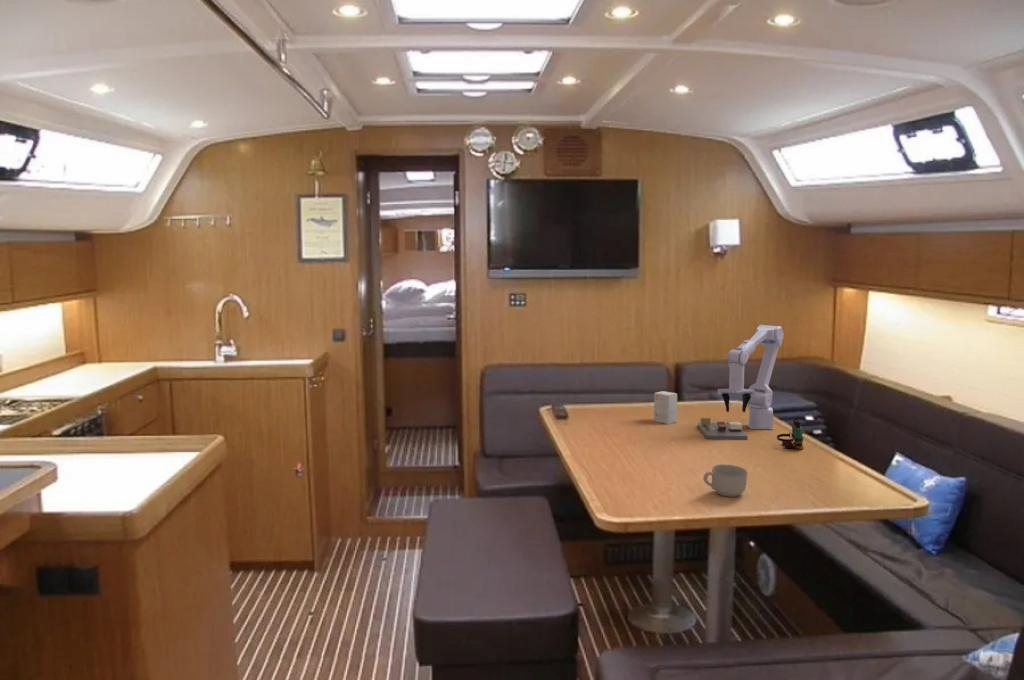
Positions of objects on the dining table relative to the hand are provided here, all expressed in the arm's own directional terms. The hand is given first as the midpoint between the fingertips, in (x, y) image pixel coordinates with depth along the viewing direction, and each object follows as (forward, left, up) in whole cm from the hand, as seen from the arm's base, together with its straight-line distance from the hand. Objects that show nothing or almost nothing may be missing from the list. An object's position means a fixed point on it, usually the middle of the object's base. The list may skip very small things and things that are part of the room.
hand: (735, 411), depth 307 cm
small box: (+26, -20, -10) cm, 34 cm away
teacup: (+19, +76, -10) cm, 79 cm away
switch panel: (+5, -2, -9) cm, 11 cm away
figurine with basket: (-17, +19, -10) cm, 27 cm away
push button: (0, 0, -7) cm, 7 cm away
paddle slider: (+11, -7, -7) cm, 15 cm away
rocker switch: (+5, 0, -6) cm, 8 cm away
